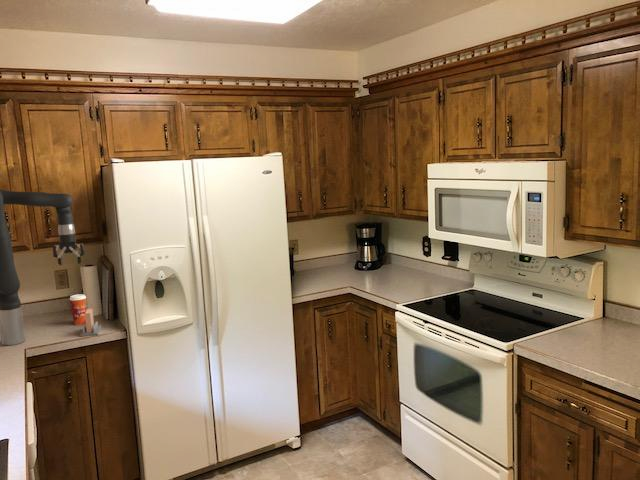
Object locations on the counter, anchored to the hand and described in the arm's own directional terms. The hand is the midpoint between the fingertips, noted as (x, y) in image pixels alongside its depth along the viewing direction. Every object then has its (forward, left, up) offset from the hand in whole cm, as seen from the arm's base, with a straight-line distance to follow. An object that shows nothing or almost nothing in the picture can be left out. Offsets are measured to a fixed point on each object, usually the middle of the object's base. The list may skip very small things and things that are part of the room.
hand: (70, 264), depth 270 cm
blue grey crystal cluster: (+8, -8, -34) cm, 36 cm away
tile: (+8, -8, -33) cm, 35 cm away
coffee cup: (0, +11, -34) cm, 36 cm away
